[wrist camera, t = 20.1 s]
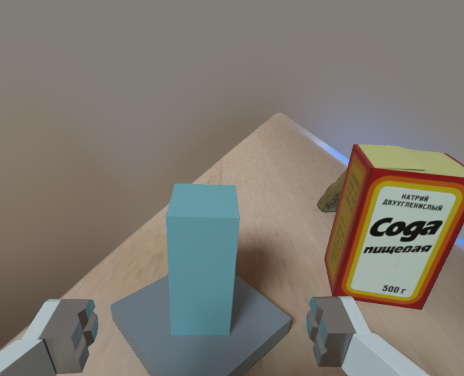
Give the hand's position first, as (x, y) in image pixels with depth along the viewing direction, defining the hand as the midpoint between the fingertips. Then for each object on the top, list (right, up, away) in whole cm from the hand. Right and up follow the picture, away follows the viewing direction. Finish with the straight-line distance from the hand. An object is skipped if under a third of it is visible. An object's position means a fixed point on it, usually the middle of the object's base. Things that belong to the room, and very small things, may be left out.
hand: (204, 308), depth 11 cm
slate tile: (-2, -9, +18) cm, 20 cm away
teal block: (-2, -7, +17) cm, 18 cm away
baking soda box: (+17, -7, +25) cm, 31 cm away
